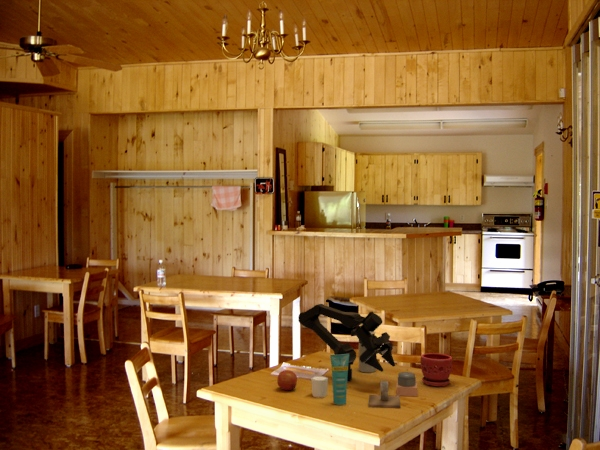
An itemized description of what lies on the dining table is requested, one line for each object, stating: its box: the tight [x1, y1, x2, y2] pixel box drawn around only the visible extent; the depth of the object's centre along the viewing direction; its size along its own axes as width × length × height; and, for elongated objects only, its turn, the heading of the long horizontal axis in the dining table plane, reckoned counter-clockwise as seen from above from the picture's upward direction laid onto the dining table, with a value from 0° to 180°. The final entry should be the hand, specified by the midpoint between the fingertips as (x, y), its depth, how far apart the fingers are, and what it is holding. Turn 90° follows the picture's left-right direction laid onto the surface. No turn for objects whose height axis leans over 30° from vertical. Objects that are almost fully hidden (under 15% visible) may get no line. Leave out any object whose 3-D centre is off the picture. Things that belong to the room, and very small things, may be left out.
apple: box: [277, 369, 298, 391], centre depth 251 cm, size 8×8×8 cm
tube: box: [329, 354, 349, 406], centre depth 232 cm, size 7×5×19 cm, turn 103°
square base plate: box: [368, 380, 401, 409], centre depth 233 cm, size 12×12×8 cm
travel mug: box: [358, 331, 377, 373], centre depth 278 cm, size 8×8×18 cm
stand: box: [396, 380, 418, 397], centre depth 245 cm, size 8×8×4 cm
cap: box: [397, 371, 417, 387], centre depth 244 cm, size 7×7×4 cm
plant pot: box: [420, 352, 453, 387], centre depth 257 cm, size 13×13×12 cm
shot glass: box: [310, 375, 329, 398], centre depth 243 cm, size 7×7×7 cm
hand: (388, 368), depth 250 cm, fingers open, 9 cm apart
